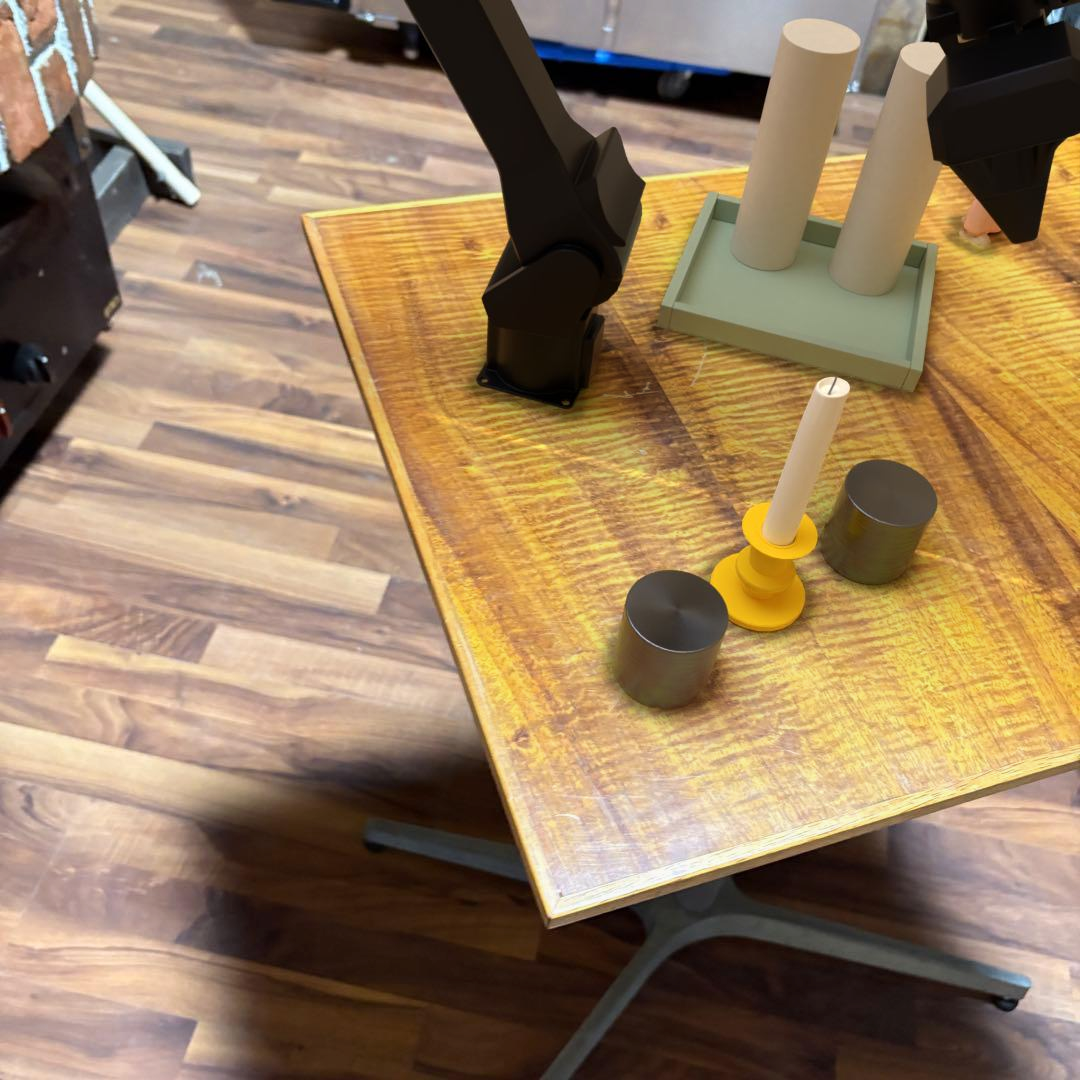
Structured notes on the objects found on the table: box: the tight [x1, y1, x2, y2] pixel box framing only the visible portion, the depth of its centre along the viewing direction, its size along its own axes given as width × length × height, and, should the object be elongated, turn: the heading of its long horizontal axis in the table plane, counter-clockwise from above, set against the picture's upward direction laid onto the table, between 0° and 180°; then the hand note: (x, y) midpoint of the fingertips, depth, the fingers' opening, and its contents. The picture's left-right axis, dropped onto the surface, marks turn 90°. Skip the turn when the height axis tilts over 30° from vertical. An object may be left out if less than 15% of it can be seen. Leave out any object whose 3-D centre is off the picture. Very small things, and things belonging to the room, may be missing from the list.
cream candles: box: [730, 17, 945, 296], centre depth 70 cm, size 12×5×16 cm, turn 72°
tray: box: [656, 190, 939, 394], centre depth 73 cm, size 18×16×2 cm
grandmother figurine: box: [958, 197, 1002, 247], centre depth 77 cm, size 8×4×13 cm, turn 168°
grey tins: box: [612, 458, 939, 710], centre depth 54 cm, size 5×20×5 cm, turn 125°
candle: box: [709, 375, 851, 632], centre depth 50 cm, size 5×5×16 cm
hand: (1018, 190), depth 51 cm, fingers open, 9 cm apart
